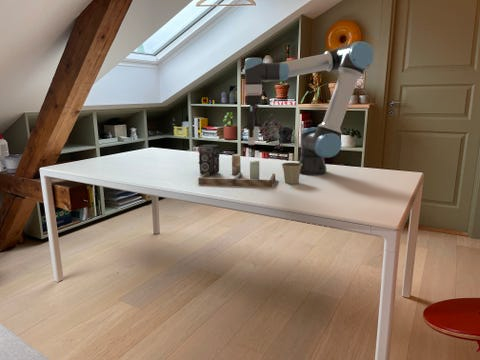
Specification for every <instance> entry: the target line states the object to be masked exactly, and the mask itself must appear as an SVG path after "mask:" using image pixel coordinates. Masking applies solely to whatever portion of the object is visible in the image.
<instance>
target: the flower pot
mask: <svg viewBox="0 0 480 360" xmlns="http://www.w3.org/2000/svg"><path fill="white" fill-rule="evenodd" d="M281 166H282V169H283V175H284V176H283V177H284V183H286V184H290V185H295V184H298V183H299V182H300V175H301V173H300V169H301V166H302V164H301V163H299V162H284V163H282V164H281Z"/></svg>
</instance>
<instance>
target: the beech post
mask: <svg viewBox="0 0 480 360" xmlns="http://www.w3.org/2000/svg"><path fill="white" fill-rule="evenodd" d="M238 173H242V172H241V154H237V153H236V154H231V175H232V176H237V175H238Z"/></svg>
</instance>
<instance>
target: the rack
mask: <svg viewBox="0 0 480 360" xmlns="http://www.w3.org/2000/svg"><path fill="white" fill-rule="evenodd" d="M197 181H198V185H209V186H230V187H231V186H233V187H236V186H237V187H256V188H257V187H258V188H273V186H274V184H275V181H276V173H272V175H271V177H269V179H259V180H258V179H250V178H243V173H242V172H241V173H238V175H235V177H234V178H229V177H228V178H225V177H223V178H222V177H210V175H209V172H206V173H204V174H203V175H202V174H201V175H200V176H199V177H198V179H197Z"/></svg>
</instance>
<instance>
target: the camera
mask: <svg viewBox="0 0 480 360" xmlns="http://www.w3.org/2000/svg"><path fill="white" fill-rule="evenodd" d="M219 147H220V146H219V144H202V145H199V146H198V148H197V150H198V160H199V161H198V164H199V174H200V175H201V176H202V175H203V174H204V173H206V172H209V176H210V175H212V176H215V175H216V174H218V173H219V172H220V155H221V154H220V150H219Z"/></svg>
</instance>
